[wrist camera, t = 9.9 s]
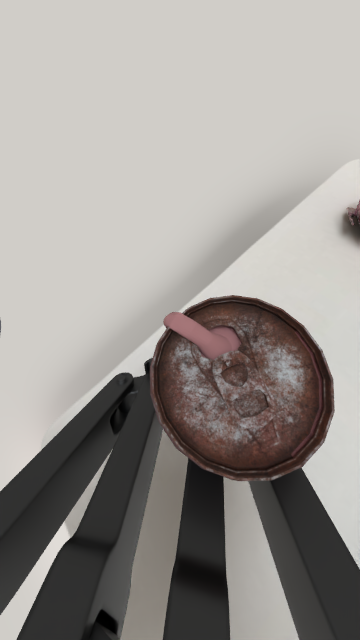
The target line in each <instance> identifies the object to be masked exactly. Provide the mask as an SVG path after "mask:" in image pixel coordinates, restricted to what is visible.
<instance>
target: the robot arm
mask: <svg viewBox="0 0 360 640" xmlns="http://www.w3.org/2000/svg"><path fill="white" fill-rule="evenodd" d="M152 359H153V358H151V359H149V360H147V361H146V362H145V363H144V365H145V371H146V375H144V376H140V377H134V378H133V376H132V374H130V373H121V374H118V375H116V376H115V377H114V378H113V379H112V380H111V381H110V382H109V383H108V384H107V385H106V386H105V387H104V388H103V389H102V390H101V391H100V392H99V393H98V394H97V395H96V396H95V397H94V398H93V399H92V400H91V401H90V402H89V403H88V404H87V405H86V406H85V407H84V408H83V409H82V410H81V411H80V412H79V413H78V414H77V415H76V416H75V417H74V418H73V419H72V420H71V421H70V422H69V423H68V424H67V425H66V426H65V427H64V428H63V429H62V430H61V431H60V432H59V433H58V434H57V435H56V436H55V437H54V438H53V439H52V440H51V441H50V442H49V443H48V444H47V445H46V446H45V447H44V448H43V449H42V450H41V451H40V452H39V453H38V454H37V455H36V456H35V457H34V458H33V459H32V460H31V461H30V462H29V463H28V464H27V465H26V466H25V467H24V468H23V469H22V470H21V471H20V472H19V473H18V474H17V475H16V476H15V477H14V478H13V479H12V480H11V481H10V482H9V484H8V485H6V487H4V488H3V489H2V491H0V615H1V613H2V612H3V610H4V609H5V608H6V606H7V605H8V604H9V602H10V600H11V599H12V598H13V596H14V595H15V593H16V592H17V591H18V589H19V588H20V586H21V585H22V583H23V582H24V580H25V579H26V577H27V576H28V574H29V573H30V571H31V570H32V568H33V567H34V565H35V564H36V562H37V561H38V559H39V558H40V556H41V555H42V553H43V552H44V550H45V549H46V547H47V546H48V544H49V543H50V541H51V540H52V538H53V537H54V535H55V534H56V532H57V531H58V529H59V528H60V526H61V525H62V524H63V522H64V521H65V519H66V518H67V516H68V515H69V513H70V512H71V510H72V509H73V507H74V506H75V504H76V503H77V501H78V500H79V498H80V497H81V495H82V494H83V492H84V491H85V489H86V488H87V486H88V485H89V483H90V482H91V480H92V479H93V477H94V476H95V474H96V473H97V471H98V470H99V468H100V467H101V465H102V464H103V462H104V461H105V459H106V458H107V456H108V455H109V453H110V452H111V450H112V449H113V450H112V452H111V454H110V456H109V459H108V461H107V463H106V465H105V468H104V470H103V472H102V475H101V477H100V479H99V481H98V484H97V486H96V488H95V491H94V493H93V495H92V497H91V500H90V502H89V504H88V506H87V509H86V511H85V513H84V516H83V518H82V520H81V522H80V525H79V527H78V529H77V531H76V532H75V534H74V535H73V536H72V537H71V538H70V539H69V540H68V541H67V542H66V543H65V544H64V545H63V547H62V548H61V550H60V551H59V552H58V554H57V556H56V558H55V560H54V562H53V563H52V566H51V567H50V569H49V572H48V574H47V576H46V578H45V580H44V582H43V584H42V587H41V589H40V591H39V593H38V595H37V597H36V600H35V601H34V604H33V606H32V608H31V610H30V612H29V614H28V616H27V618H26V620H25V623H24V625H23V627H22V629H21V631H20V633H19V635H18V638H17V640H120V637H121V632H122V628H123V623H124V618H125V614H126V609H127V604H128V599H129V593H130V586H131V572H132V566H133V561H134V556H135V552H136V547H137V543H138V538H139V534H140V529H141V525H142V520H143V516H144V511H145V507H146V502H147V498H148V493H149V489H150V484H151V480H152V476H153V471H154V467H155V462H156V458H157V453H158V449H159V444H160V440H161V435H162V431H163V428H162V426H161V425H160V423H159V421H158V418H157V414H156V411H155V408H154V405H153V401H152V398H151V395H150V366H151V363H152ZM249 484H250V487H251V491H252V494H253V497H254V500H255V503H256V506H257V509H258V512H259V515H260V519H261V522H262V525H263V528H264V531H265V534H266V537H267V540H268V543H269V547H270V550H271V553H272V556H273V559H274V562H275V565H276V568H277V571H278V574H279V578H280V581H281V584H282V587H283V590H284V593H285V596H286V599H287V602H288V606H289V609H290V612H291V615H292V618H293V621H294V624H295V627H296V630H297V634H298V637H299V640H360V569H359V568H358V566H357V564H356V562H355V561H354V559H353V557H352V555H351V554H350V552H349V550H348V548H347V547H346V545H345V543H344V541H343V540H342V538H341V536H340V534H339V533H338V531H337V529H336V527H335V526H334V524H333V522H332V520H331V519H330V517H329V515H328V513H327V512H326V510H325V508H324V506H323V505H322V503H321V501H320V499H319V498H318V496H317V494H316V492H315V491H314V489H313V487H312V485H311V484H310V482H309V480H308V478H307V477H306V475H305V473H304V471H303V470H302V468H299V469H296V470H294V471H292V472H290V473H287V474H285V475H283V476H281V477H278V478H276V479H274V480H268V481H249ZM163 640H230V624H229V601H228V587H227V579H226V557H225V521H224V484H223V476H220V475H218V474H215V473H212V472H210V471H207V470H204V469H201V468H200V467H199V466H198V465H197V464H195V463H194V462H193V461H192V460H190V459H189V458H188V466H187V474H186V482H185V490H184V497H183V505H182V513H181V521H180V529H179V536H178V544H177V552H176V558H175V563H174V567H173V572H172V578H171V584H170V590H169V597H168V605H167V612H166V620H165V627H164V635H163Z"/></svg>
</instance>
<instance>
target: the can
mask: <svg viewBox="0 0 360 640" xmlns="http://www.w3.org/2000/svg"><path fill="white" fill-rule="evenodd" d="M164 325H165V327H166V328H167V329H166V331H165V332H164V334H163V335H162V337H161V338H160V340H159V341H158V343H157V345H156V349H155V352H154V356H153V359H152V363H151V366H150V395H151V398H152V401H153V405H154V408H155V411H156V414H157V418H158V421H159V423H160V425H161V426H162V428H163V429H164V431H165V432H166V434H167V435H168V437H169V438H170V440H171V441H172V443H173V444H174V446H175V447H176V448H177V449H178V450H179V451H180V452H182V453H183V454H184V455H185V456H187V457H188V458H189V459H190V460H192V461H193V462H194V463H195V464H197V465H198V466H199V467H200V468H201V469H204V470H207V471H210V472H212V473H215V474H218V475H220V476H223V477H226V478H229V479H231V480H236V481H268V480H274V479H276V478H278V477H281V476H283V475H285V474H287V473H290V472H292V471H294V470H296V469H299V468H301V467H303V466H304V464H305V463H306V462H307V461H308V460H309V459H310V458H311V457H312V455H313V454H314V453H315V452H316V451H317V450H318V449H319V448H320V446H321V445H322V444H323V443H324V441H325V438H326V435H327V432H328V429H329V426H330V423H331V420H332V417H333V414H334V388H333V378H332V375H331V372H330V370H329V367H328V364H327V362H326V359H325V356H324V354H323V351H322V349H321V348H320V347H319V345H318V344H317V343H316V341H315V340H314V339H313V337H312V336H311V335H310V333H309V332H308V331H307V329H306V328H305V327H304V326H303V325H302V324H301V323H299V322H298V321H297V320H296V319H294V318H293V317H292V316H290V315H289V314H288V313H287V312H285V311H284V310H283V309H281V308H279V307H276V306H274V305H271V304H269V303H267V302H264V301H262V300H260V299H257V298H250V297H242V296H235V295H231V296H223V297H216V298H209V299H207V300H205V301H202V302H200V303H198V304H196V305H193V306H191V307H189V308H188V309H186V310H185V311H184V312H183V313H179V312H172V313H170V314H169V315H167V316H166V317H165V319H164Z"/></svg>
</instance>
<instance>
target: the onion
mask: <svg viewBox="0 0 360 640" xmlns="http://www.w3.org/2000/svg"><path fill="white" fill-rule="evenodd" d="M347 210H348V217H349V220H350V221H351V223H352V225H353V226H354V225H355V224H354V222H353V219H352V218H351V217H353V218H354V217H355V216H356V217H357V218H358V222H359V224H360V201H359V204H358V206H357V209H354V208H347ZM350 216H351V217H350Z"/></svg>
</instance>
